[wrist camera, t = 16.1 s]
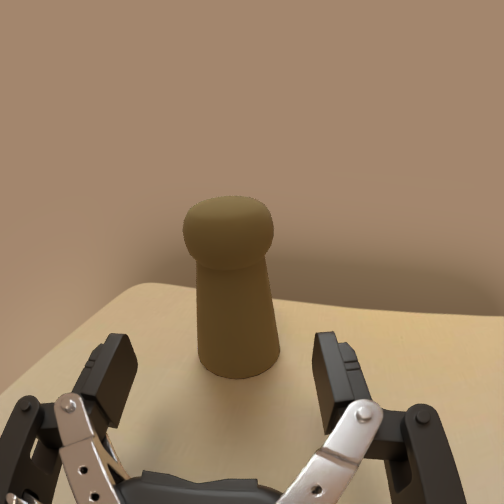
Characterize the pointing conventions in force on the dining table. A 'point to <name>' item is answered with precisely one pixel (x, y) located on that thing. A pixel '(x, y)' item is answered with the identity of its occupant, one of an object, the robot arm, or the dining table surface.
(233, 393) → the dining table surface
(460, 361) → the dining table surface
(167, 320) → the dining table surface
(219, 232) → the cork
